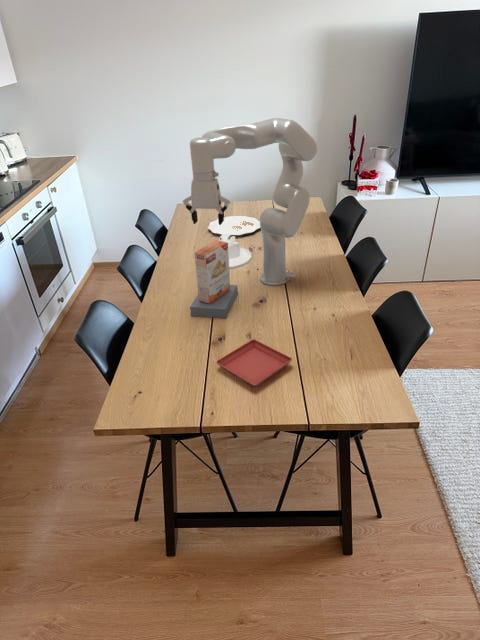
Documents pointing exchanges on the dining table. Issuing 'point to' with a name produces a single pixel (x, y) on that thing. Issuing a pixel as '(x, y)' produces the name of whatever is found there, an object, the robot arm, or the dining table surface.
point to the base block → (215, 305)
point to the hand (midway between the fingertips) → (208, 223)
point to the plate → (234, 221)
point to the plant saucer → (254, 362)
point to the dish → (236, 252)
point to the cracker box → (212, 271)
